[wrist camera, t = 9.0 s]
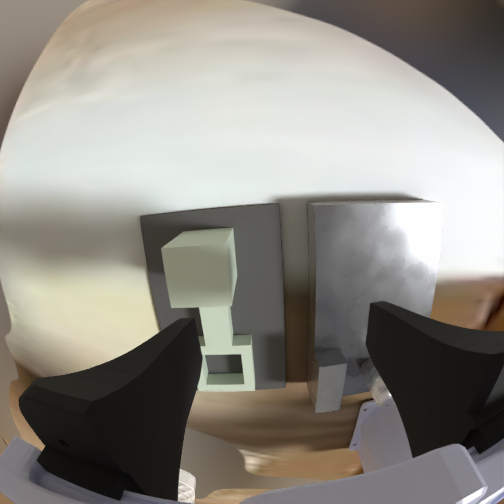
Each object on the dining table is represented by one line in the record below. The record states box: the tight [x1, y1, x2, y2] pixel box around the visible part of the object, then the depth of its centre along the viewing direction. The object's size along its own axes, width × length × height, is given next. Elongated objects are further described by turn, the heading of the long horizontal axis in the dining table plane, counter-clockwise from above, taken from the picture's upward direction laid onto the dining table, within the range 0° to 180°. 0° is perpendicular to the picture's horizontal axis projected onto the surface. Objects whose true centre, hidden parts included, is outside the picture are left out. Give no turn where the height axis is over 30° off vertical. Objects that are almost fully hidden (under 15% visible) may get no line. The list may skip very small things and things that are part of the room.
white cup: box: [178, 469, 196, 503], centre depth 24 cm, size 8×8×10 cm
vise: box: [307, 200, 442, 414], centre depth 17 cm, size 16×10×6 cm, turn 4°
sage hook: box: [161, 228, 255, 391], centre depth 18 cm, size 13×5×5 cm, turn 4°
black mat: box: [140, 204, 286, 390], centre depth 21 cm, size 16×10×1 cm, turn 4°
